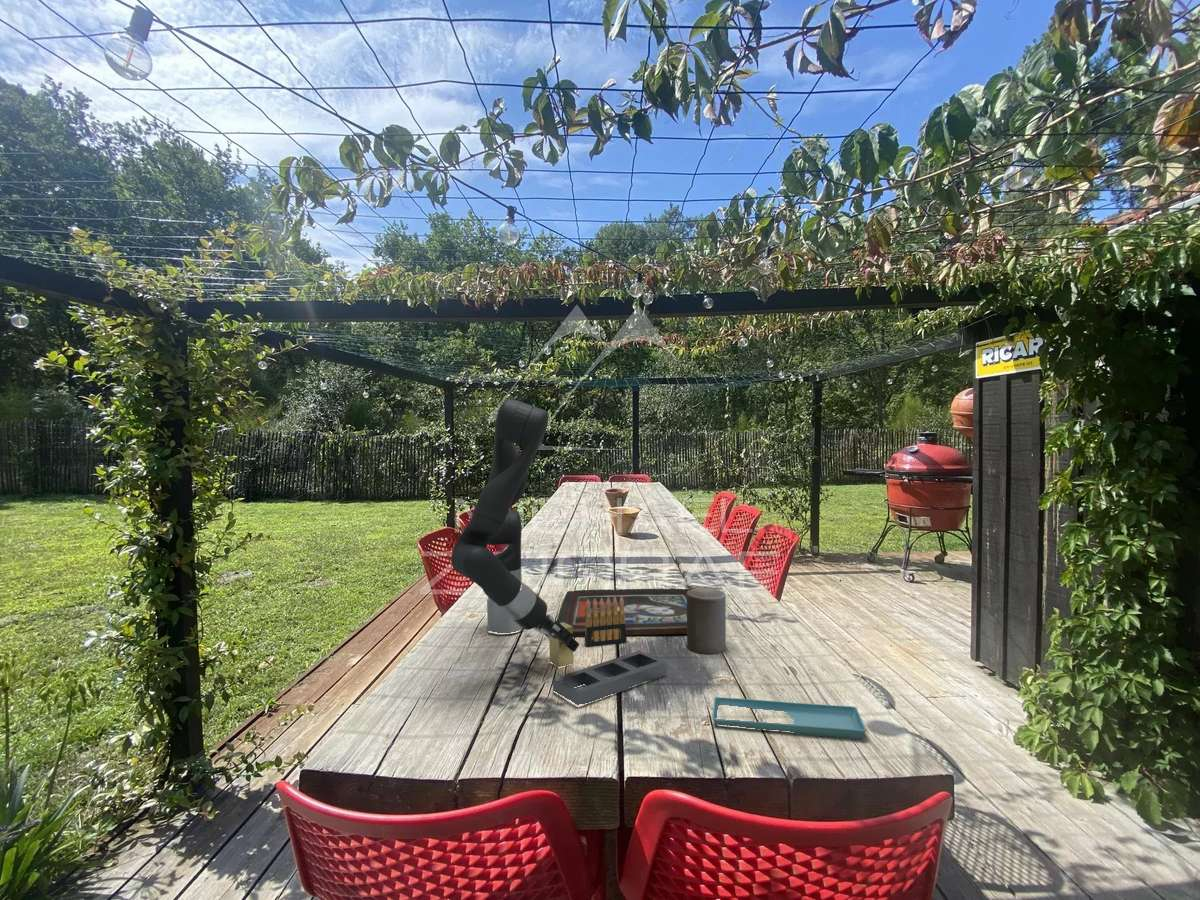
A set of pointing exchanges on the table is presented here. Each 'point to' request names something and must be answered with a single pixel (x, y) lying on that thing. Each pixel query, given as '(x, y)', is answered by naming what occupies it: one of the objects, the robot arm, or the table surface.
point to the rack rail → (598, 674)
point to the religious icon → (631, 609)
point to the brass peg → (561, 650)
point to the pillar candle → (706, 621)
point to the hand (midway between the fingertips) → (565, 642)
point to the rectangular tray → (800, 718)
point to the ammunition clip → (605, 624)
